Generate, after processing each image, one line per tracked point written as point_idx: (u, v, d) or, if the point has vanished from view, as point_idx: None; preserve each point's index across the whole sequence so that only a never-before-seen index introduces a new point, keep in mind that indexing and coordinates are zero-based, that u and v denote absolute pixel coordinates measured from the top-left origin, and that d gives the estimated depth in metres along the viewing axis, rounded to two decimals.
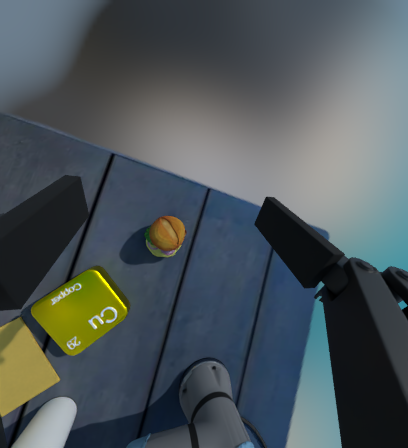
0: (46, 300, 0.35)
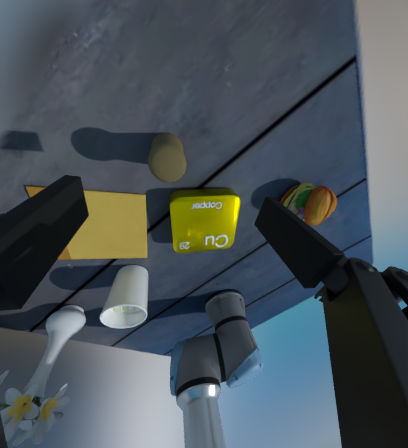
0: (189, 201, 0.32)
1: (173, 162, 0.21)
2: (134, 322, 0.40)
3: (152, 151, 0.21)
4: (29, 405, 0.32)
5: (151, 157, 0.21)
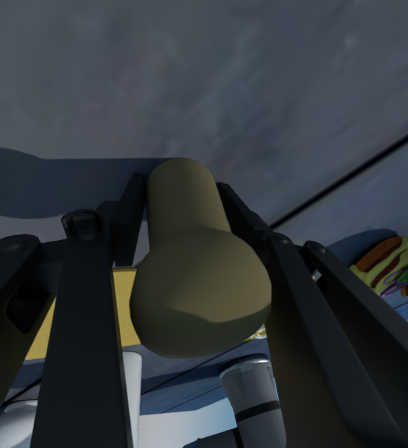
0: None
1: (238, 330, 0.05)
2: None
3: (146, 290, 0.04)
4: None
5: (141, 319, 0.04)
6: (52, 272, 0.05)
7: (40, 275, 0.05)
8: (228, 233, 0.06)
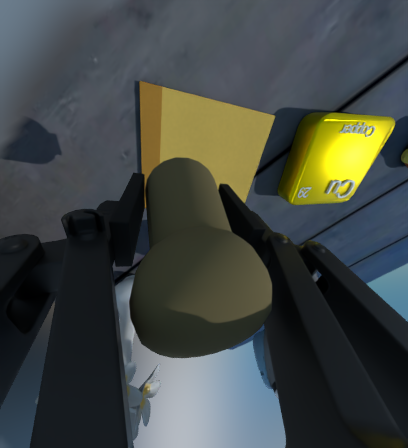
0: (342, 120, 0.24)
1: (238, 329, 0.05)
2: None
3: (147, 289, 0.04)
4: None
5: (141, 318, 0.04)
6: (52, 272, 0.05)
7: (40, 274, 0.05)
8: (228, 232, 0.06)
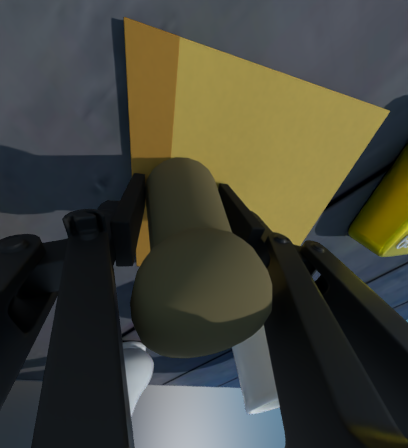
0: None
1: (239, 329, 0.05)
2: None
3: (148, 290, 0.04)
4: None
5: (143, 319, 0.04)
6: (53, 271, 0.06)
7: (42, 274, 0.05)
8: (229, 233, 0.06)
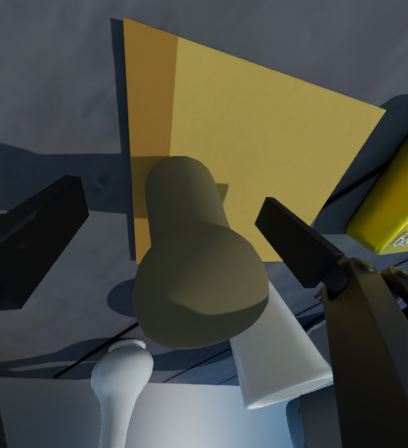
0: None
1: (237, 320, 0.05)
2: None
3: (150, 282, 0.05)
4: None
5: (145, 309, 0.05)
6: None
7: None
8: (227, 228, 0.06)
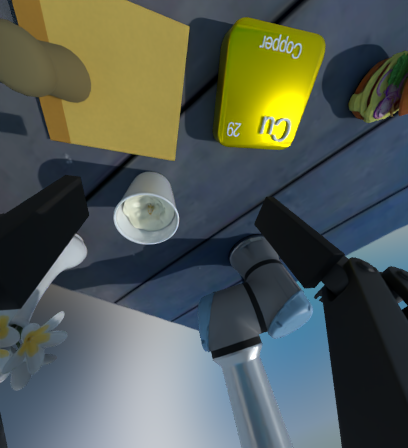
0: (260, 30, 0.21)
1: (13, 50, 0.14)
2: (157, 239, 0.29)
3: None
4: (5, 331, 0.21)
5: None
6: None
7: None
8: None
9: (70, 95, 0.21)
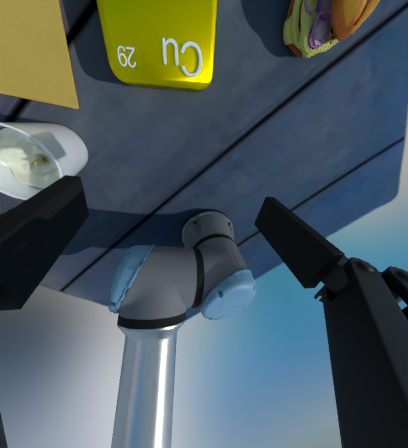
0: None
1: None
2: None
3: None
4: None
5: None
6: None
7: None
8: None
9: None
